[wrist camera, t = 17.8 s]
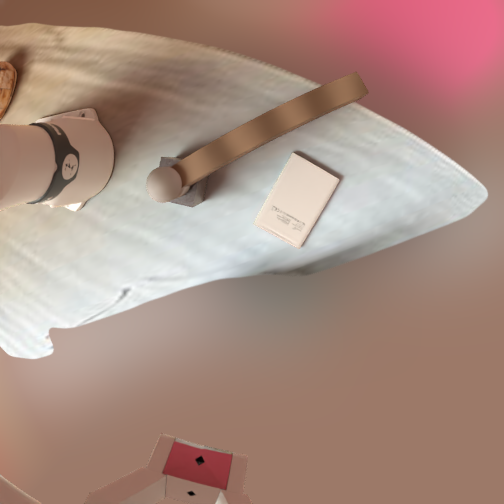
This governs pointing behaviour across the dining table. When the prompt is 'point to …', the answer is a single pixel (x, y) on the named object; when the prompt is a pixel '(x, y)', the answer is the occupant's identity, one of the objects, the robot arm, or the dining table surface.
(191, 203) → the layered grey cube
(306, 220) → the external hard drive
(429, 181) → the dining table surface
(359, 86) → the walnut swing arm
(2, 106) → the trinket box
